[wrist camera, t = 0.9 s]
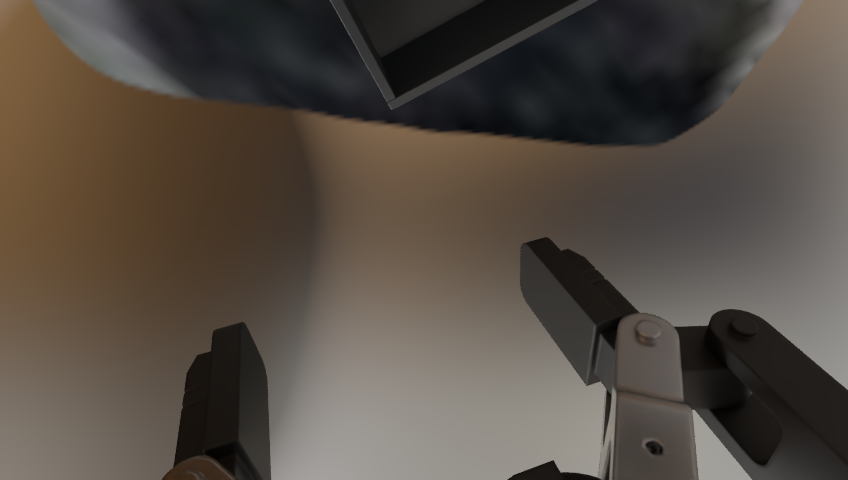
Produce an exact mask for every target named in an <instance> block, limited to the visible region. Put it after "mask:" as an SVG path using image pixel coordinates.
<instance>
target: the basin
mask: <svg viewBox="0 0 848 480" xmlns="http://www.w3.org/2000/svg"><path fill="white" fill-rule="evenodd" d="M596 1H598V0H330V2H331V3H332V5H333V7H334V9H335V10H336V12H337V14H338V16H339V18H340V19H341V21H342V23H343V25H344V26H345V28H346V30H347V32H348V34H349V35H350V37H351V39H352V41H353V43H354V44H355V46H356V48H357V50H358V51H359V53H360V55H361V57H362V59H363V60H364V62H365V64H366V66H367V67H368V69H369V71H370V73H371V75H372V76H373V78H374V80H375V82H376V84H377V85H378V87H379V89H380V91H381V92H382V94H383V96H384V98H385V100H386V101H387V103H388V105H389V107H390V108H391V110H393V109H395V108H397V107H399V106H401V105H403V104H404V103H406V102H408V101H410V100H412V99H414V98H416V97H418V96H419V95H421V94H423V93H425V92H427V91H429V90H431V89H433V88H434V87H436V86H438V85H440V84H442V83H444V82H446V81H448V80H449V79H451V78H453V77H455V76H457V75H459V74H461V73H463V72H464V71H466V70H468V69H470V68H472V67H474V66H476V65H478V64H479V63H481V62H483V61H485V60H487V59H489V58H491V57H493V56H494V55H496V54H498V53H500V52H502V51H504V50H506V49H508V48H509V47H511V46H513V45H515V44H517V43H519V42H521V41H523V40H524V39H526V38H528V37H530V36H532V35H534V34H536V33H538V32H539V31H541V30H543V29H545V28H547V27H549V26H551V25H553V24H554V23H556V22H558V21H560V20H562V19H564V18H566V17H568V16H569V15H571V14H573V13H575V12H577V11H579V10H581V9H583V8H584V7H586V6H588V5H590V4H592V3H594V2H596Z"/></svg>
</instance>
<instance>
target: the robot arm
mask: <svg viewBox="0 0 848 480" xmlns="http://www.w3.org/2000/svg"><path fill="white" fill-rule="evenodd" d="M520 255H521V256H520V286H521V291H522V294H523V297H524V299H525V301H526V302H527V304H528V305H529V307H530V308H531V310H532V311H533V312H534V314H535V315H536V317H537V318H538V319H539V321H540V322H541V323H542V325H543V326H544V327H545V329H546V330H547V332H548V333H549V334H550V336H551V337H552V339H553V340H554V341H555V343H556V344H557V345H558V347H559V348H560V350H561V351H562V352H563V354H564V355H565V357H566V358H567V359H568V361H569V362H570V363H571V365H572V366H573V368H574V369H575V370H576V372H577V373H578V374H579V376H580V377H581V379H582V380H583V381H584V383H585V384H586V386H588V385H591V384H593V383H597V382H600V381H601V382H602V384H603V385H604V386H605V388H606V393H605V402H604V415H603V429H602V443H601V456H600V464H599V472H598V478H597V477H593V476H590V475H585V474H580V473H569V472H563V473H560V471H559V469H558V468H557V466H556V464H555V462H554V461H550V462H547V463H545V464H542V465H539V466H537V467H534V468H531V469H529V470H526V471H523V472H521V473H518V474H515V475H513V476H512V477H511V478H509V479H508V480H699V479H698V468H697V457H696V446H695V435H694V425H693V413H692V410H695V411H696V412H697V413H698V414H699V415H700V417H701V418H702V419H703V420H704V421H705V423H706V424H707V425H708V427H709V428H710V429H711V430H712V431H713V433H714V434H715V435H716V436H717V437H718V439H719V440H720V441H721V442H722V443H723V445H724V446H725V447H726V448H727V449H728V451H729V452H730V453H731V454H732V455H733V457H734V458H735V459H736V460H737V461H738V463H739V464H740V465H741V466H742V468H743V469H744V470H745V471H746V473H747V474H748V475H749V476H750V477H751V479H752V480H848V390H847V389H846V388H845V387H843V386H842V385H841V384H840V383H839V382H837V381H836V380H835V379H834V378H833V377H832V376H830V375H829V374H828V373H827V372H825V371H824V370H823V369H822V368H821V367H820V366H818V365H817V364H816V363H815V362H814V361H812V360H811V359H810V358H809V357H808V356H807V355H805V354H804V353H803V352H802V351H801V350H800V349H798V348H797V347H796V346H795V345H794V344H792V343H791V342H790V341H789V340H788V339H787V338H785V337H784V336H783V335H782V334H781V333H779V332H778V331H777V330H776V329H775V328H774V327H772V326H771V325H770V324H769V323H768V322H766V321H765V320H763V319H762V318H760V317H759V316H756V315H754V314H752V313H749V312H745V311H742V310H735V309H728V310H722V311H719V312H717V313H715V314H714V315H713V316H712V317H711V320H710V322H709V325H708V326H688V327H673V326H672V325H671V324H670V323H669V322H668V321H666V320H664V319H663V318H661V317H658V316H656V315H652V314H648V313H639V312H638V311H637V310H636V309H635V308H634V307H633V306H632V305H631V304H630V303H629V302H628V301H627V300H626V299H625V298H624V297H623V296H622V294H621V293H619V291H617V290H616V289H615V287H614V286H613V285H612V284H611V283H610V282H609V281H607V280H605V279H604V276H602V274H601V273H599V272H598V271H597V270H595V267H594V266H593V265H592V264H591V263H590V262H589V261H588V260H587V259H586V258H585V257H583V256H581V255H579V254H577V253H575V252H573V251H571V250H569V249H566V250H562V251H561V250H560V249H559V248H558V247H557V246H556V245H555V244H554V243H553V242H552V241H551V240H550V239H549V238H547V237H545V238H541V239H538V240H534V241H531V242H527V243H524V244H522V246H521V253H520ZM267 388H268V386H267V375H266V370H265V366H264V363H263V361H262V358H261V356H260V354H259V351H258V349H257V347H256V345H255V343H254V341H253V339H252V337H251V334H250V332H249V330H248V328H247V326H246V324H245V323H243V322H241V323H237V324H234V325H230V326H226V327H223V328H219V329H216V330H214V331H213V336H212V346H211V351H210V352H207V353H203V354H200V355H197V357H196V358H195V360H194V362H193V363H192V365H191V367H190V369H189V370H188V372H187V376H186V383H185V390H184V391H185V394H184V397H183V404H182V405H183V409H182V411H181V418H180V425H179V432H178V440H177V447H176V454H175V461H174V466H173V468H172V469H171V470H170V471H169V472H168V473H167V474H166V475H165V476H164V477H163V478H162V480H271V467H270V441H269V413H268V389H267Z"/></svg>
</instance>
